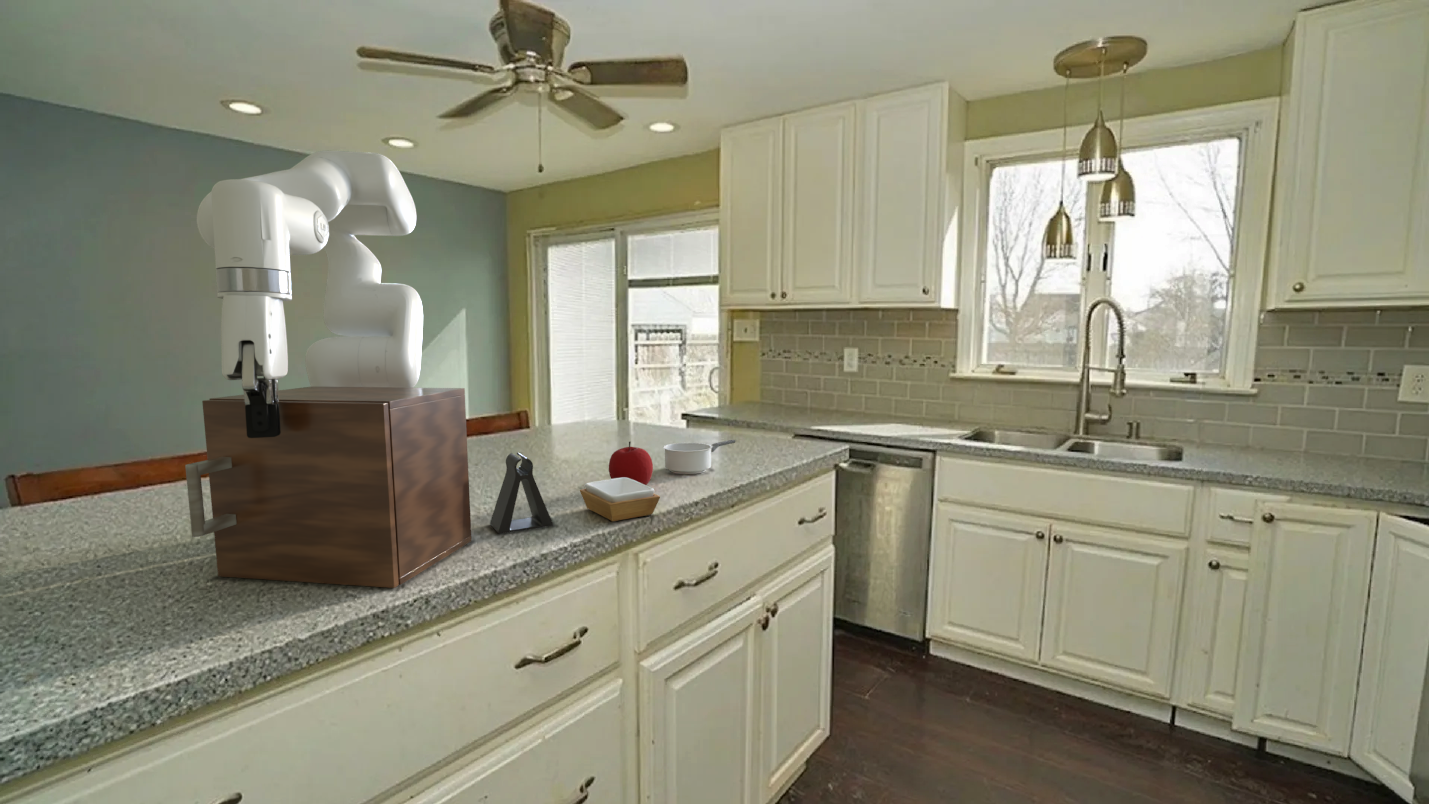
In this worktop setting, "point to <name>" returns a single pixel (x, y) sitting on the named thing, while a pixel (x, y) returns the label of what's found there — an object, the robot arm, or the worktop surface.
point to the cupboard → (417, 466)
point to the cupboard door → (299, 494)
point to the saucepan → (690, 456)
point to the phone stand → (509, 494)
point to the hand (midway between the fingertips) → (264, 436)
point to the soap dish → (619, 498)
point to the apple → (631, 464)
